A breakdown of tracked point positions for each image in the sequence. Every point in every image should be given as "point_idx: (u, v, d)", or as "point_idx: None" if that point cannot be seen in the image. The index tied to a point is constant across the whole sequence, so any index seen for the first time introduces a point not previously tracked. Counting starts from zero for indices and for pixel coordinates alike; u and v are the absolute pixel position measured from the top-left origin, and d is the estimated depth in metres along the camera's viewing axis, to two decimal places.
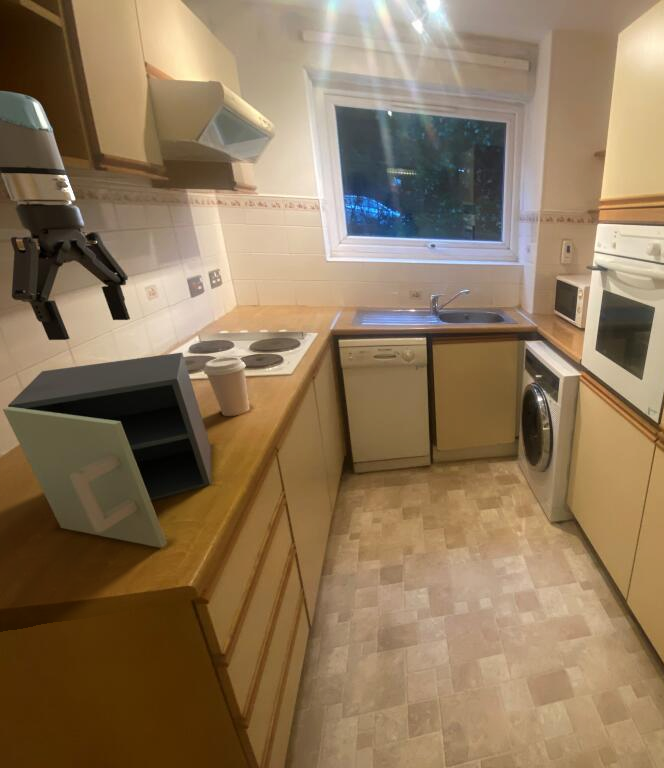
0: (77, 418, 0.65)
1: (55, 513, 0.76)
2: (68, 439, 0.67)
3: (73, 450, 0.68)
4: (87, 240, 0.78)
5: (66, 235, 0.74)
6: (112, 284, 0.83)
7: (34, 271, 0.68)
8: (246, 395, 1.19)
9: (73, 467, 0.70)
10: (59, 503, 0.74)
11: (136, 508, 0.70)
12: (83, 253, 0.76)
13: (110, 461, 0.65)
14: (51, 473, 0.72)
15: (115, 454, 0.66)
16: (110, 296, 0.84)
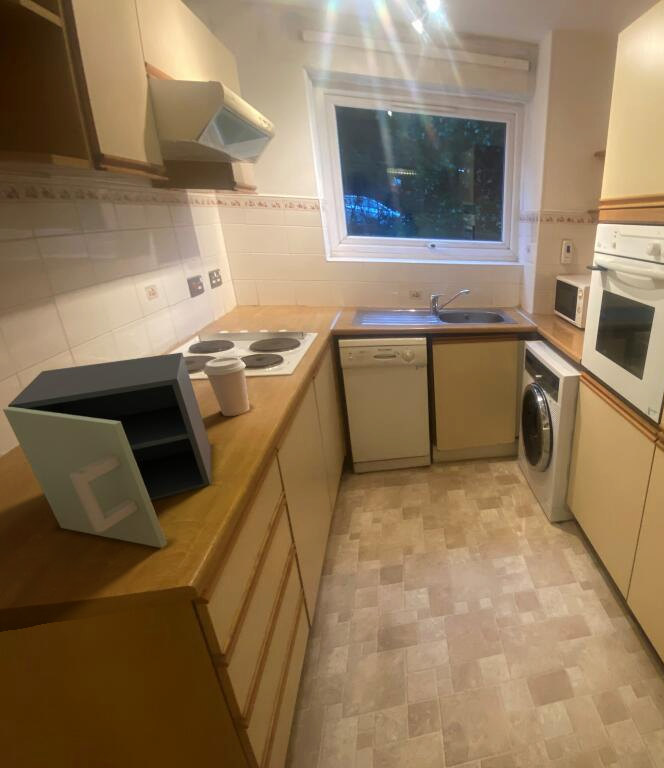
0: (77, 418, 0.65)
1: (55, 513, 0.76)
2: (68, 439, 0.67)
3: (73, 450, 0.68)
4: None
5: None
6: None
7: None
8: (246, 395, 1.19)
9: (73, 467, 0.70)
10: (59, 503, 0.74)
11: (136, 508, 0.70)
12: None
13: (110, 461, 0.65)
14: (51, 473, 0.72)
15: (115, 454, 0.66)
16: None
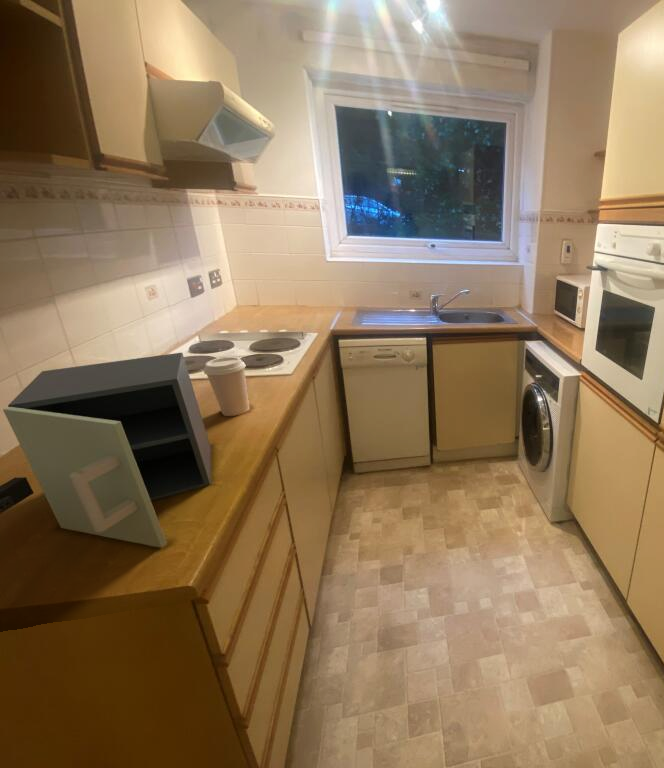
0: (77, 418, 0.65)
1: (55, 513, 0.76)
2: (68, 439, 0.67)
3: (73, 450, 0.68)
4: None
5: None
6: None
7: None
8: (246, 395, 1.19)
9: (73, 467, 0.70)
10: (59, 503, 0.74)
11: (136, 508, 0.70)
12: None
13: (110, 461, 0.65)
14: (51, 473, 0.72)
15: (115, 454, 0.66)
16: None
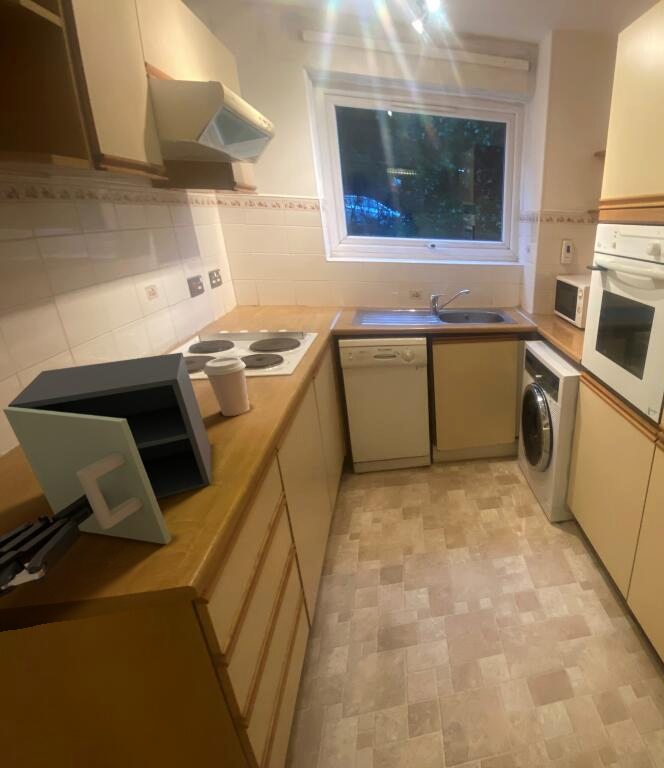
0: (81, 416, 0.66)
1: (55, 513, 0.76)
2: (71, 437, 0.68)
3: (76, 448, 0.68)
4: None
5: None
6: None
7: None
8: (246, 395, 1.19)
9: (75, 466, 0.70)
10: (60, 503, 0.74)
11: (141, 505, 0.70)
12: None
13: (116, 458, 0.66)
14: (52, 473, 0.72)
15: (120, 451, 0.67)
16: None
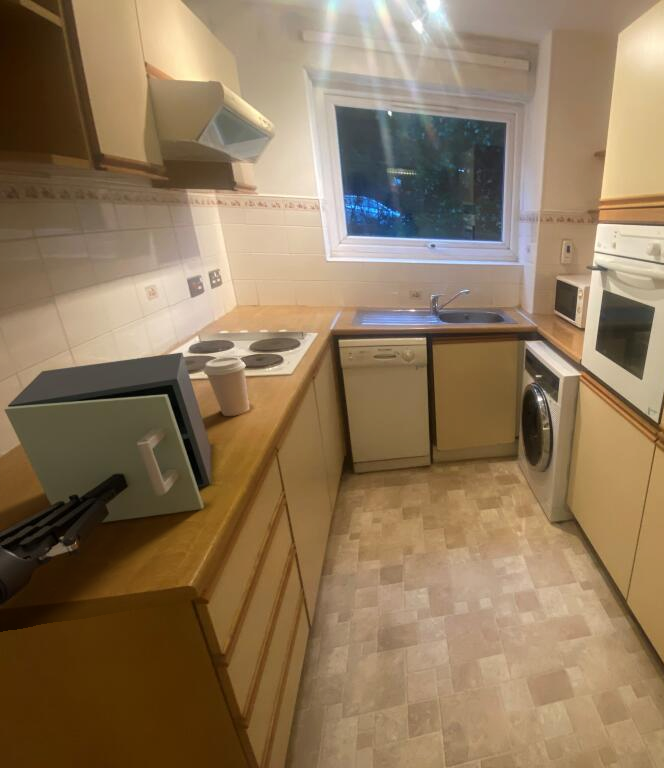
0: (115, 399, 0.72)
1: None
2: (99, 423, 0.72)
3: (103, 433, 0.73)
4: None
5: None
6: None
7: None
8: (246, 395, 1.19)
9: (98, 452, 0.74)
10: (68, 499, 0.75)
11: (178, 475, 0.78)
12: None
13: (160, 431, 0.74)
14: (62, 467, 0.73)
15: (160, 426, 0.75)
16: None
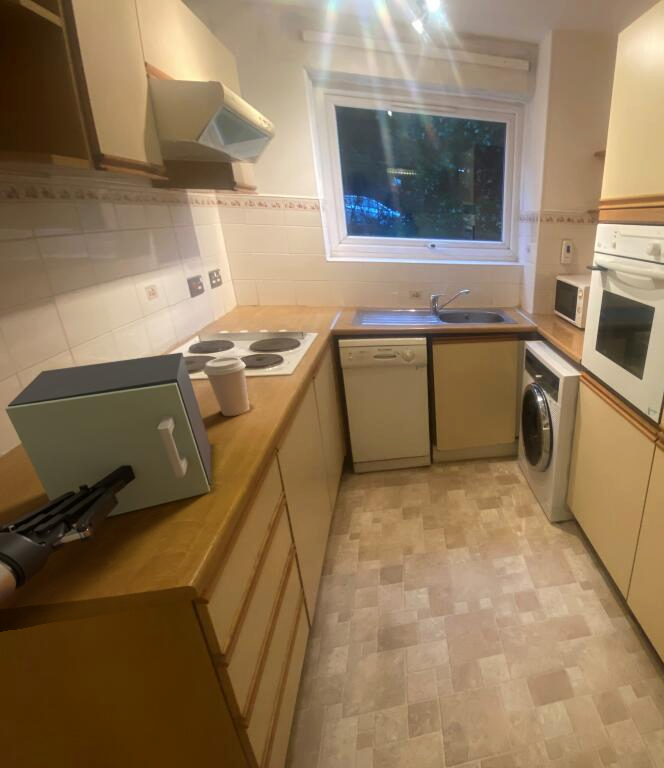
0: (125, 391, 0.75)
1: None
2: (108, 415, 0.75)
3: (112, 426, 0.75)
4: None
5: None
6: None
7: None
8: (246, 395, 1.19)
9: (106, 445, 0.76)
10: None
11: (188, 460, 0.83)
12: None
13: (172, 418, 0.78)
14: (66, 464, 0.74)
15: (171, 413, 0.79)
16: None
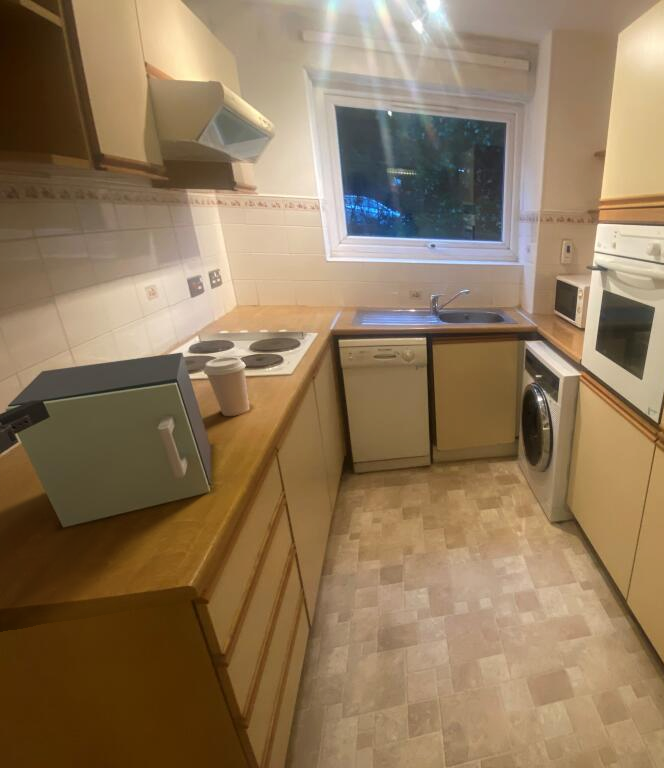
0: (125, 391, 0.75)
1: (59, 512, 0.76)
2: (108, 415, 0.75)
3: (112, 426, 0.75)
4: None
5: None
6: None
7: None
8: (246, 395, 1.19)
9: (106, 445, 0.76)
10: (71, 496, 0.76)
11: (188, 460, 0.83)
12: None
13: (172, 418, 0.78)
14: (66, 464, 0.74)
15: (171, 413, 0.79)
16: None
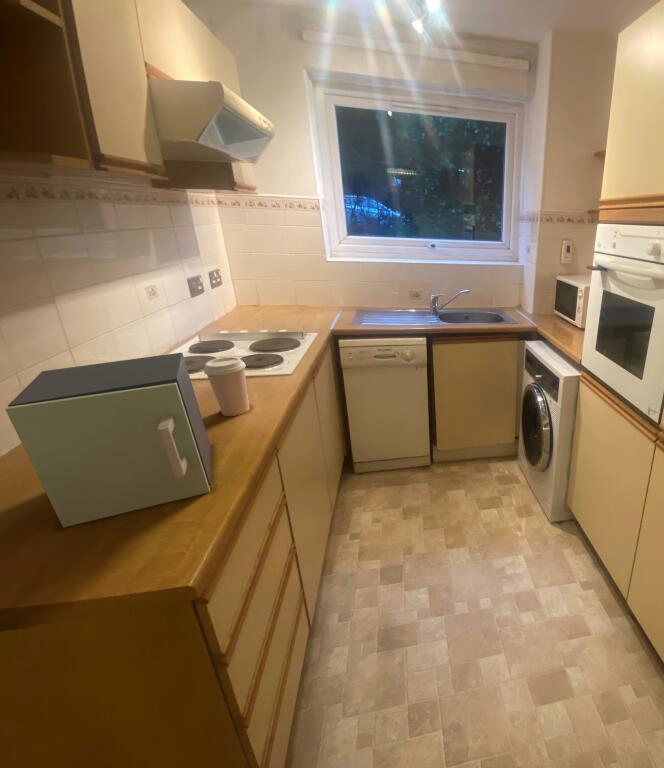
0: (125, 391, 0.75)
1: (59, 512, 0.76)
2: (108, 415, 0.75)
3: (112, 426, 0.75)
4: None
5: None
6: None
7: None
8: (246, 395, 1.19)
9: (106, 445, 0.76)
10: (71, 496, 0.76)
11: (188, 460, 0.83)
12: None
13: (172, 418, 0.78)
14: (66, 464, 0.74)
15: (171, 413, 0.79)
16: None
